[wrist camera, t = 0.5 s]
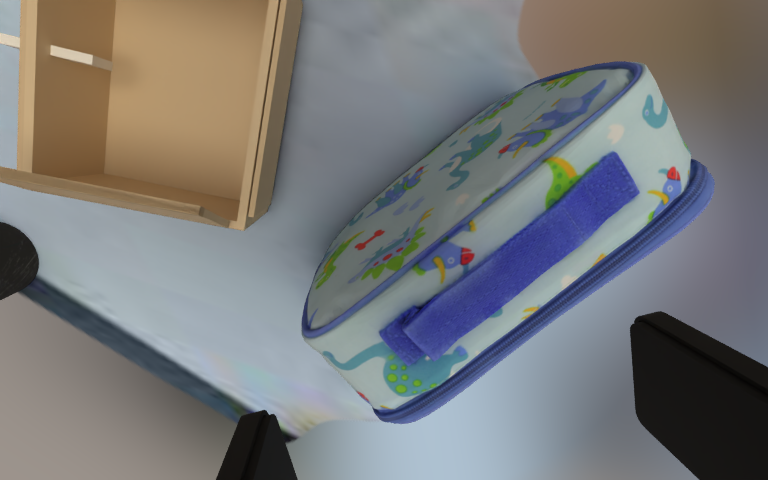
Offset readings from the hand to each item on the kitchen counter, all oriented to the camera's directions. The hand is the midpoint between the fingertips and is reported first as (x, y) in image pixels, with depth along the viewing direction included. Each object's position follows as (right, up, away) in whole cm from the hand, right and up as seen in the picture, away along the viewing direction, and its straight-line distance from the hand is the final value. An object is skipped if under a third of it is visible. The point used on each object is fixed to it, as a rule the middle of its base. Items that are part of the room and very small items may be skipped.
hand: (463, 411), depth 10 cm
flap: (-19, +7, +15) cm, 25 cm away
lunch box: (+3, +7, +30) cm, 31 cm away
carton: (-20, +18, +25) cm, 37 cm away
